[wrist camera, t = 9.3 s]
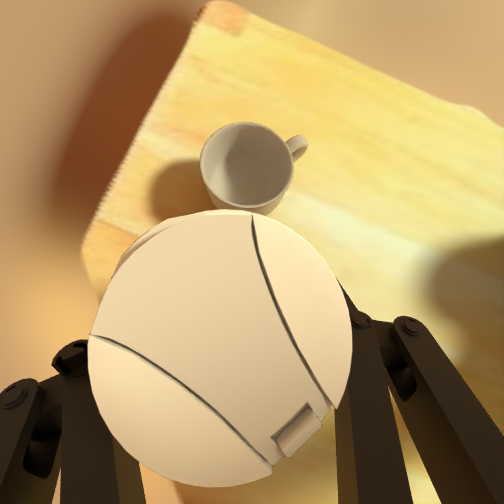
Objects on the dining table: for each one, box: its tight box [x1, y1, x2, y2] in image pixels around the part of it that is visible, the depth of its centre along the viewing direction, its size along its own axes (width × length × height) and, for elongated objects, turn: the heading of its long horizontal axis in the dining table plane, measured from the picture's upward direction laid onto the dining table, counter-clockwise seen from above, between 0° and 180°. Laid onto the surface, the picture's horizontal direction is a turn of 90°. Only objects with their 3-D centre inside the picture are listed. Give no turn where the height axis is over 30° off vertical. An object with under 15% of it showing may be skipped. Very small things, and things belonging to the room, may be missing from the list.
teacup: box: [200, 122, 308, 216], centre depth 31 cm, size 14×11×8 cm
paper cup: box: [88, 209, 352, 488], centre depth 13 cm, size 8×8×14 cm
